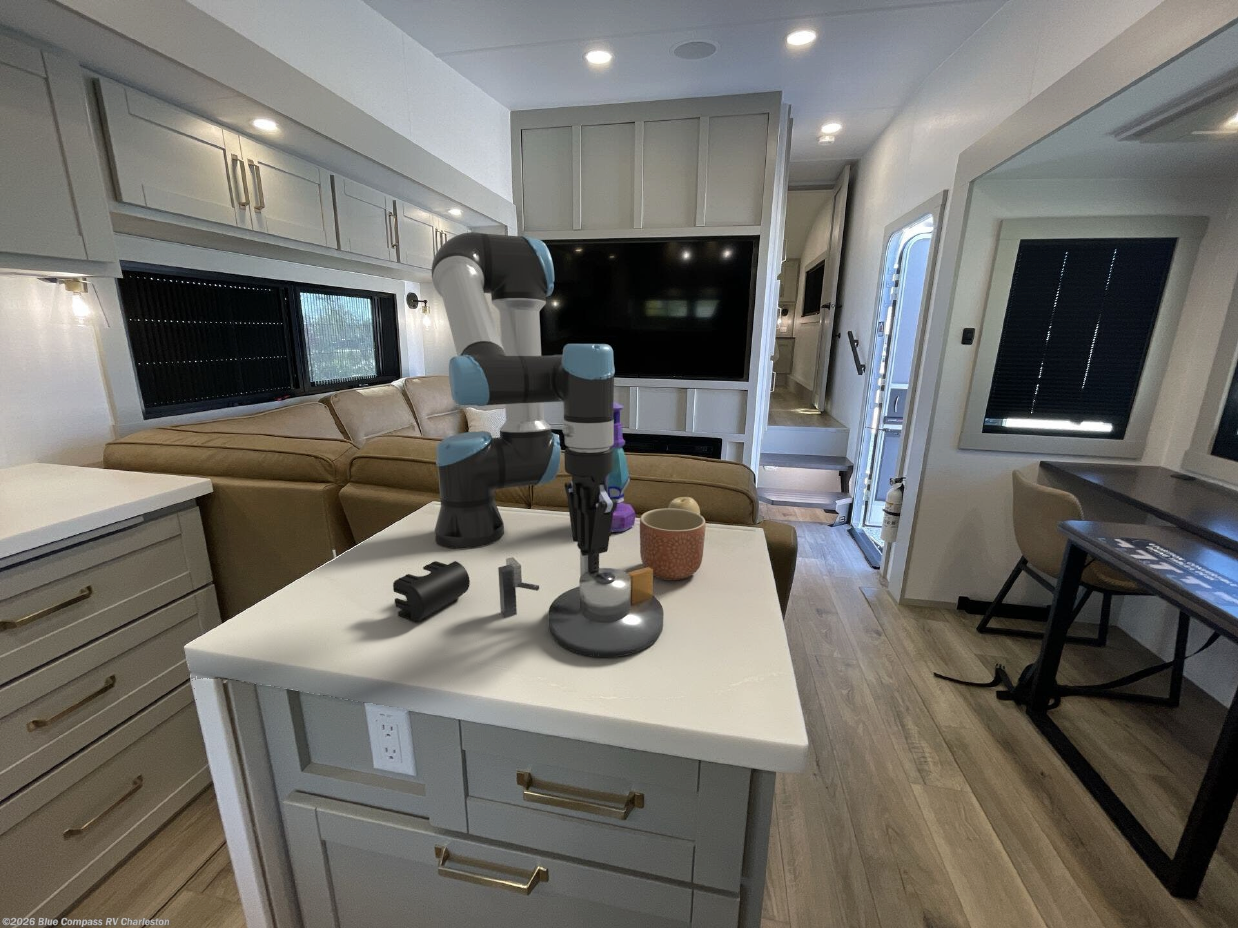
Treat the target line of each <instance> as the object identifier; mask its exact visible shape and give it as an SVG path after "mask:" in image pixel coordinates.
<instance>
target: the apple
mask: <svg viewBox="0 0 1238 928" xmlns="http://www.w3.org/2000/svg"><path fill="white" fill-rule="evenodd" d="M667 508H672V509H683V510H688V511H692V512H695V513H697V514H699V515H701V510H700V506H699V504H698V502H697V501H696V500H695V499H694V498H692V497H689V496H683V497H682V496H680V497H675V498H674V499H672V500H671V502H670V503H669V504H668V507H667Z"/></svg>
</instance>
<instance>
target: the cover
mask: <svg viewBox="0 0 1238 928" xmlns="http://www.w3.org/2000/svg"><path fill="white" fill-rule="evenodd" d="M579 586H580V612H581V614H582V615H583V616H584V617H585V618H587V619H589V620H592V621H596V622H614V621H618V620H620V619H623V618H624V617H626V616H627V615H628V614H629V612H630V608H631V578H630V576H629V575H628V573H627V572H626V571H624V570H621V569H618V568H613V567H599V571H598V572H594V573H590V572H589V571H587V572H585V573H584V574H583V575H581V577H579Z"/></svg>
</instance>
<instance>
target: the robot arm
mask: <svg viewBox="0 0 1238 928" xmlns="http://www.w3.org/2000/svg"><path fill="white" fill-rule="evenodd" d="M430 272H431V280H432V282H433V286H434V289H435V291H436V293H438V294H439V296H440V297H441V298H442V302H443V304H444V309H445V312H446V313H445V314H446V317H447V320H448V324H449V329H450V332H451V336H452V340H453V344H454V348H455V352H456V355H457V356H453V357H451V358H450V360H449V364H448V378H449V379H448V381H449V388H450V395H451V398H452V400H453V402H454V403H456V404H457V405H459V406H478V407H485V406H497V405H504V408H505V421H504V423H503V424H502V425H501V426H500V427H499V436H498V437H493V436H492V435H491V432H489V431H485V430H480V431H475V430H474V431H468V432H462V433H457V434H453V435H450V436H447V437H446V438H445V437H444V439H442V440H441V441H439V442H438V444H437V445H436V462H435V465H436V466H437V473H438V474H437V475H438V485H439V486H438V487H439V498H440V499H439V501H440V508H439V511H438V515H437V518H436V523H435V527H434V541H435V543H437V545H440V546H441V547H444V548H449V549H460V550H461V549H474V548H479V547H483V546H484V547H485V546H488V545H491V544H493V543H495V542H498V541H499V540H500V539H502V538H503V537H504V535H505V523H504V520H503V518H502V515H501V513H500V511H499V508H498V505H497V504H496V498H495V490H499V489H500V490H501V489H508V488H509V489H511V488H517V487H527V486H539V485H542V484H548V483H551V482H553V481H554V480H555V478H556V477H557V475H558V473H559V470H560V465H561V461H562V460H561V459H562V449H561V448H562V447H561V446H560V443H561V440H560V438H559V436H558V435H557V434H556V433H554V432H552V426H551V425H549V423H548V422H547V421H545V414H544V413H545V411H544V404H545V403H563V420H564V421H563V422H564V423H563V428H562V429H561V431H562V433H563V435H564V436H563V437H564V445H565V446H566V448H565V450H564V453H563V454H564V471H565V472H566V474H568V475H570V476H571V481H569V482H565V483H564V489H565V494H566V497H567V503H568V504H567V506H568V512H569V514H568V515H569V521H570V522H569V523H570V527H571V529H570V531H571V536H572V541H573V542H575V543H576V542H577V545H576V546H577V547H578V548H577V549H579V559H580V562H579V563H580V565H579V571H580V573H579V574H580V577H581V575H583V574H584V573H585V572H587V571H589V572H590V573H594V572H598V571H599V568H600V554H603V553H607V552H608V550H609V544H610V537H611V533H612V532H611V525H612V519H613V513H614V511H615V508H616V506H617V501H616V499H611V500H610V498H609V496H608V495H607V491H608V487H607V483H606V476H607V475H608V474H610V473H611V472H612V471H613V450H612V448H610V447H611V446H612V445H613V444H614V419H613V402H615V401H614V397H615V395H614V393H615V392H614V390H615V372H616V370H615V369H616V368H615V364H614V362H615V360H614V350H613V348H612V346H611V345H609V344H606V343H567V344H565V345H564V346H563V349H562V354H553V355H542V345H541V340H542V339H541V323H540V311H541V310H542V309H543V307H544V306H545V305H546V304H547V299H546V297H549V296H551V295H552V293H553V291H554V288H555V287H554V282H555V270H554V263H553V259H552V255H551V253H550V250H549V248H548V247H547V245H546V243H545V242H543V240H540V239H538V238H530V237H526V236H524V235H521V236H519V235H506V234H495V233H484V232H483V233H482V232H476V231H470V232H469V231H468V232H463V233H461V234H457V235H454V236H453V237H451V238H449V239H448V240H447V241H445V242H444V243H443V244H442V245H441V246H440V247H439V249H438V250H437V252H436V253H435V255H434V258H433V260H432V263H431V271H430ZM486 294H490V296H491V297H490V299H491V304H492V306H494V307H495V308H496V309H497V310H498V312H499V322H500V324H499V325H500V335H499V331H498V329H497V325H496V323H495V320H494V317H493V314H492V312H491V309H490V305H489V302H488V301H487V300H488V299H487V297H486ZM580 577H579V578H580Z"/></svg>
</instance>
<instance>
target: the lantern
mask: <svg viewBox="0 0 1238 928" xmlns="http://www.w3.org/2000/svg"><path fill="white" fill-rule="evenodd" d="M624 408H625V406H623V405H621V404H619V403H617V402H615V401H614V402H613V419H614V444H613V445H612V446H611V447H610V448H612V450H613V471H612V472H611V473H610V474H608V475H607V476H606V483H607V487H608V491H607V495H608V496H609V498H610V500H611V499H616V501H617V506H616V508H615V511H614V513H613V519H612V525H611V532H610V533H616V532H625V531H626V530H628V529H631V528H632V527H634V525H635V521H636V512H635V510H634V508H633V506H632V505H631V504H629V503H624V502H625V499H624V497H625V493H624V492H625V490H626V489H627V486H629V483H630V474H629V469H628V463H627V459H626V455H625V451H624V449H623V447H624V446H625V445H626V440H625V439H624V438H623V425H622V423H621V422H620V421H621V411H622V409H624Z"/></svg>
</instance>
